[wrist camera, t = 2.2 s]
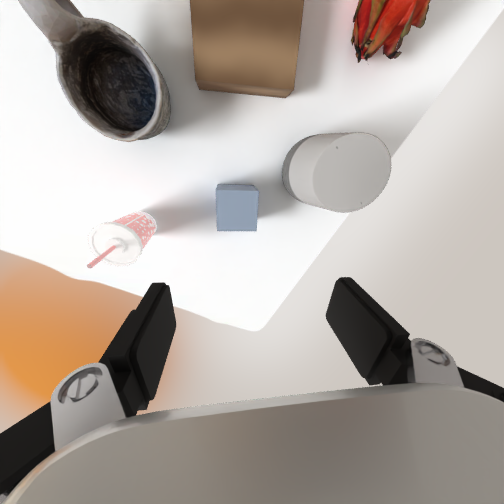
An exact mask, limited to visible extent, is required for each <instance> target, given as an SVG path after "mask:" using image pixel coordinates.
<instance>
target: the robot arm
mask: <svg viewBox="0 0 504 504" xmlns="http://www.w3.org/2000/svg"><path fill="white" fill-rule="evenodd" d="M326 319H327V321H328V323H329V325H330V326H331V328H332V329H333V331H334V333H335V334H336V336H337V338H338V339H339V341H340V342H341V344H342V346H343V347H344V349H345V351H346V352H347V354H348V355H349V357H350V359H351V360H352V362H353V364H354V365H355V367H356V368H357V370H358V372H359V373H360V375H361V376H362V377H363V378H365V379H366V381H367V382H368V384H369V385H377V384H380V383H382V384H383V386H374V387H365V388H355V389H345V390H336V391H327V392H317V393H308V394H299V395H290V396H282V397H272V398H262V399H254V400H245V401H237V402H229V403H219V404H212V405H202V406H195V407H187V408H180V409H172V410H165V411H158V412H152V413H147V414H142V415H136V414H137V411H138V410H146V409H147V407H148V404H149V401H150V400H153V399H154V397H155V394H156V391H157V388H158V385H159V381H160V378H161V375H162V372H163V368H164V365H165V362H166V359H167V355H168V352H169V349H170V346H171V342H172V339H173V336H174V333H175V329H176V319H175V314H174V309H173V303H172V298H171V292H170V287H169V285H166V284H165V283H152V284H151V286H150V287H149V289H148V291H147V292H146V294H145V295H144V297H143V299H142V300H141V302H140V304H139V305H138V307H137V309H136V310H132V311H131V312H130V314H129V315H128V317H127V318H126V320H125V321H124V323H123V325H122V326H121V328H120V329H119V331H118V332H117V334H116V335H115V337H114V339H113V340H112V342H111V343H110V345H109V346H108V348H107V350H106V351H105V353H104V354H103V356H102V358H101V359H100V361H99V362H98V363H92V364H88V365H85V366H82V367H80V368H78V369H76V370H75V371H73V372H72V373H70V374H69V375H68V376H67V377H65V379H63V380H62V381H61V382H60V383H59V385H58V386H57V387H56V388H55V390H54V392H53V394H52V397H51V401H50V402H49V403H47V404H46V405H44V406H42V407H41V408H39V409H38V410H36V411H35V412H33V413H32V414H30V415H28V416H27V417H26V418H24V419H22V420H21V421H19V422H18V423H16V424H14V425H13V426H11V427H10V428H8V429H7V430H5V431H4V432H2V433H0V504H504V388H502V387H500V386H498V385H496V384H494V383H492V382H490V381H487V380H485V379H483V378H481V377H479V376H477V375H474V374H472V373H470V372H468V371H466V370H464V369H462V368H459V367H457V366H456V363H455V361H454V359H453V358H452V356H451V355H450V354H449V353H448V352H447V351H445V350H444V349H443V348H442V347H440V346H438V345H436V344H435V343H433V342H431V341H429V340H425V339H421V338H416V339H413V340H412V341H410V340H409V339H408V337H409V335H410V334H409V333H408V332H407V331H406V330H405V329H404V328H403V327H402V326H401V325H400V324H399V323H398V322H397V321H396V320H395V319H394V318H393V317H392V316H390V315H389V314H388V313H387V312H386V311H385V310H384V309H383V308H382V307H381V306H380V305H379V304H378V303H377V302H376V301H375V300H374V299H373V298H372V297H371V296H370V295H369V294H368V293H367V292H365V291H364V290H363V289H362V288H361V287H360V286H359V285H358V284H357V283H356V282H355V281H354V280H353V279H352V278H350V277H341V278H339V279H338V280H337V281H336V283H335V286H334V289H333V292H332V296H331V299H330V302H329V306H328V309H327V313H326Z"/></svg>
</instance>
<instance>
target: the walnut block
mask: <svg viewBox="0 0 504 504" xmlns="http://www.w3.org/2000/svg"><path fill="white" fill-rule="evenodd" d="M303 6H304V0H190V8H191V22H192V37H193V52H194V67H195V80H196V82H197V85H198V87H199V90H208V91H218V92H228V93H239V94H249V95H259V96H269V97H279V98H286V97H287V96H288V95H289V94H290V93H291V92H292V91H293V90H294V83H295V74H296V66H297V57H298V48H299V40H300V31H301V23H302V14H303Z"/></svg>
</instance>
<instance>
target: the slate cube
mask: <svg viewBox="0 0 504 504" xmlns="http://www.w3.org/2000/svg"><path fill="white" fill-rule="evenodd" d="M258 198H259V191H258V190H257V189H256V188H255V186H253V185H224V184H218V185H217V188H216V210H217V231H256V230H257V214H258Z"/></svg>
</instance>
